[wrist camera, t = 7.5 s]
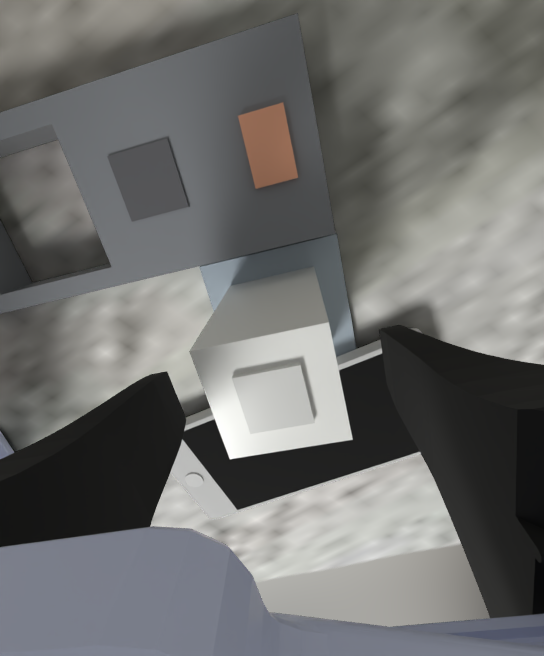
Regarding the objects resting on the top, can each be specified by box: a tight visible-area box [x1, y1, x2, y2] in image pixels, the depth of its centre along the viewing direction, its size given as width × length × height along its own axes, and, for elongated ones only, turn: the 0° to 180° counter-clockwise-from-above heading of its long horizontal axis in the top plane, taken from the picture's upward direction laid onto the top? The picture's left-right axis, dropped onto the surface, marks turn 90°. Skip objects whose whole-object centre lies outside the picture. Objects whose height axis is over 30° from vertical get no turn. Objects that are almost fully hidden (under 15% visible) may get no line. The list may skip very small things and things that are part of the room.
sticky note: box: [200, 233, 356, 357], centre depth 17 cm, size 6×6×1 cm
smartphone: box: [170, 328, 422, 519], centre depth 19 cm, size 7×15×1 cm, turn 116°
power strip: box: [0, 13, 335, 314], centre depth 14 cm, size 18×7×2 cm, turn 104°
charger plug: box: [189, 266, 353, 459], centre depth 13 cm, size 4×4×7 cm
